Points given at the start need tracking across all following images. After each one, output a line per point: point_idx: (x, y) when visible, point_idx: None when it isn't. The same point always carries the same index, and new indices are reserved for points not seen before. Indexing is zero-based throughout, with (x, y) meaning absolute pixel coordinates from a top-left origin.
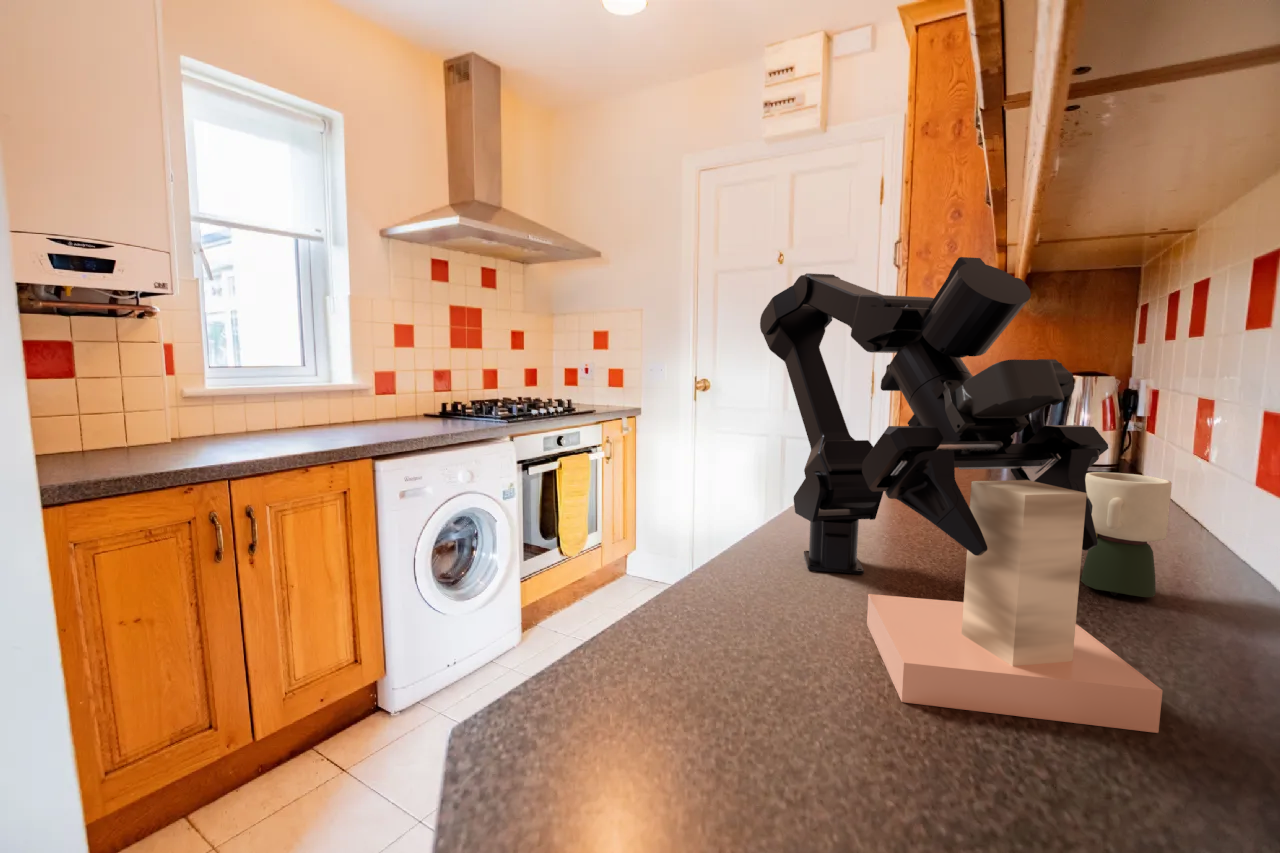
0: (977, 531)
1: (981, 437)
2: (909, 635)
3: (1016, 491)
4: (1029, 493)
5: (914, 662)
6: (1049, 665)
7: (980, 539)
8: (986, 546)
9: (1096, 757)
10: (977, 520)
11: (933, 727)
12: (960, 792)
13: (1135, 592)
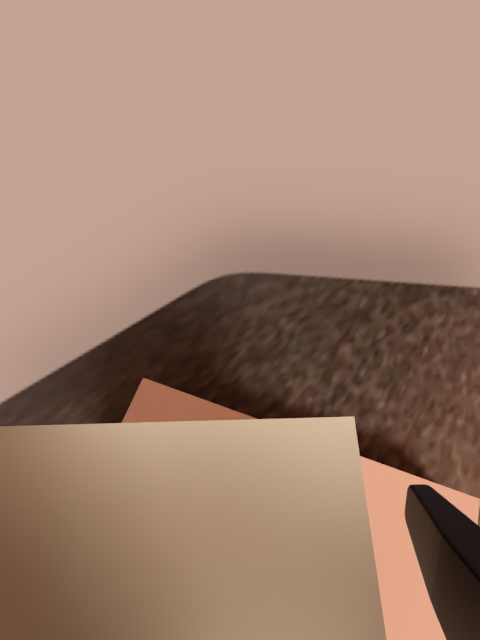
0: (455, 527)
1: None
2: (423, 613)
3: (337, 515)
4: (303, 446)
5: (459, 497)
6: None
7: (440, 504)
8: (415, 488)
9: (267, 364)
10: None
11: (425, 434)
12: (447, 334)
13: None
